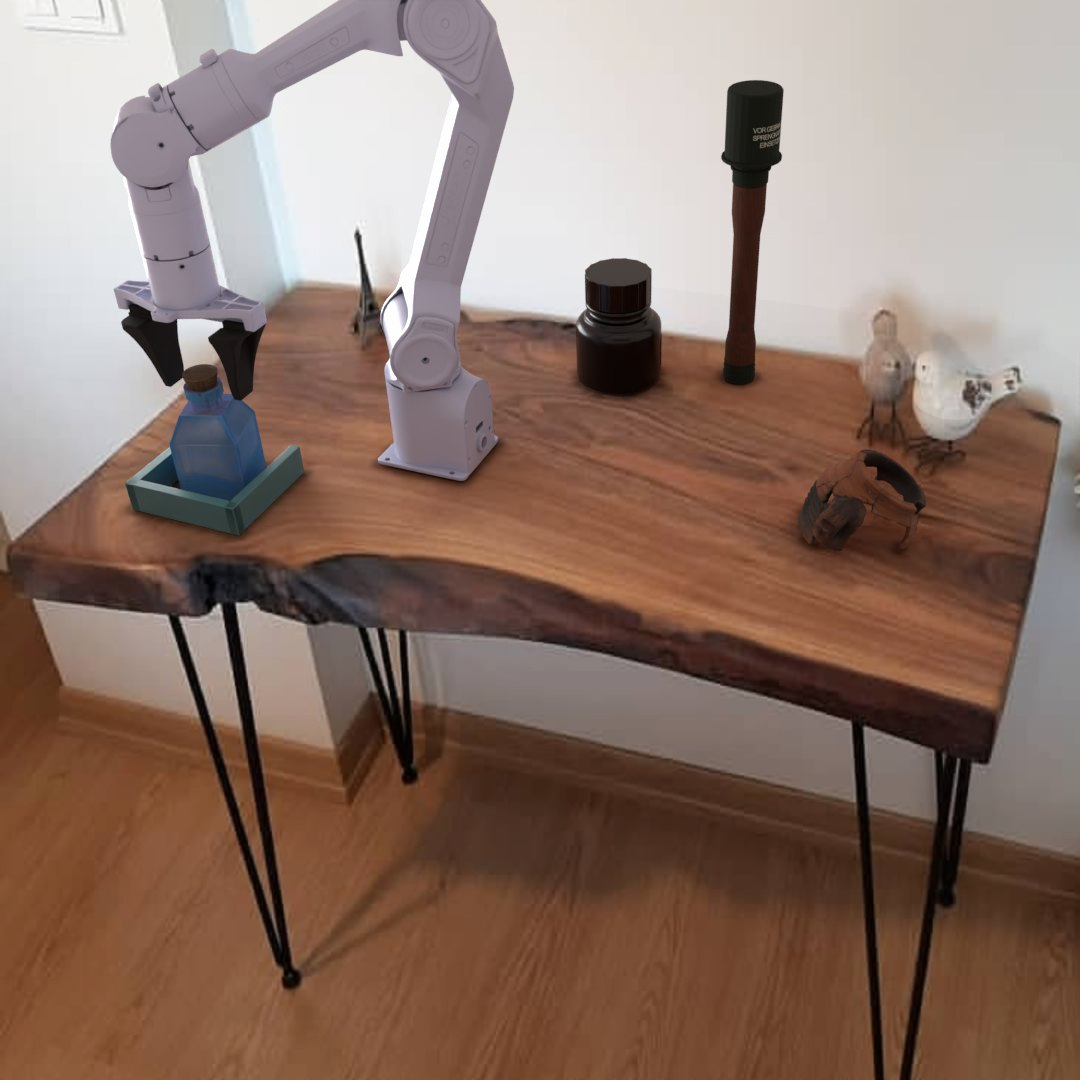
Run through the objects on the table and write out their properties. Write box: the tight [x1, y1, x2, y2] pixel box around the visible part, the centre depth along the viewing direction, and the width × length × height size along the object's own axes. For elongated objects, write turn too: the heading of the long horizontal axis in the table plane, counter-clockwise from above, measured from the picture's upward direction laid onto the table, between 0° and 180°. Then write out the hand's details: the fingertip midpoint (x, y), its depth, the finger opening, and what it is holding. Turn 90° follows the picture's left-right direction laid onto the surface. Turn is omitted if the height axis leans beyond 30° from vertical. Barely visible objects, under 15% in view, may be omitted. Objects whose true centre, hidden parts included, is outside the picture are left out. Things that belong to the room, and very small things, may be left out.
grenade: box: [720, 79, 785, 385], centre depth 121 cm, size 6×6×30 cm
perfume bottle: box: [169, 363, 267, 501], centre depth 114 cm, size 6×6×12 cm
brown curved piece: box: [797, 449, 927, 552], centre depth 104 cm, size 12×10×8 cm
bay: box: [124, 444, 305, 536], centre depth 116 cm, size 12×11×3 cm
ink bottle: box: [575, 257, 663, 396], centre depth 127 cm, size 10×9×12 cm
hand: (208, 388), depth 112 cm, fingers open, 7 cm apart
